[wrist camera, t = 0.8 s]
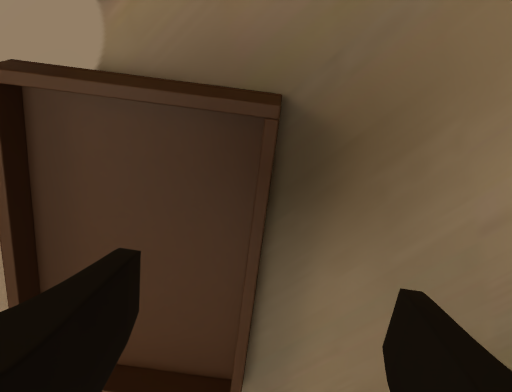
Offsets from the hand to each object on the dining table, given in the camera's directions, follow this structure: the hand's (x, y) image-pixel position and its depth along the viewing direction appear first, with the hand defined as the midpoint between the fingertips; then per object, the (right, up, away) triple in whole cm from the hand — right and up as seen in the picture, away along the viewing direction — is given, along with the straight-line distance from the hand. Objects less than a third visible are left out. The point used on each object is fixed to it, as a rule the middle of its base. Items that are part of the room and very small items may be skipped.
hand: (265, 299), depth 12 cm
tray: (-6, 0, +11) cm, 13 cm away
